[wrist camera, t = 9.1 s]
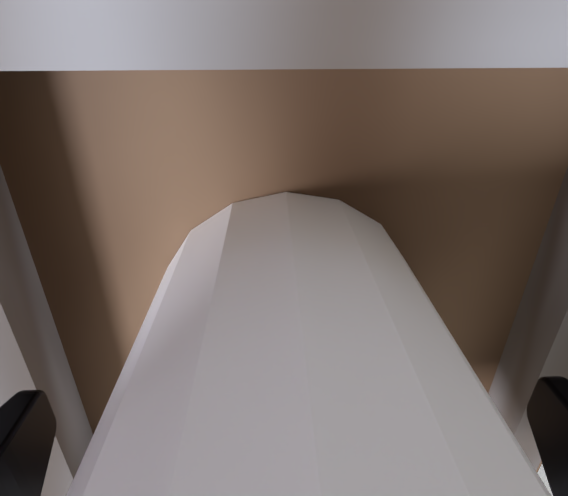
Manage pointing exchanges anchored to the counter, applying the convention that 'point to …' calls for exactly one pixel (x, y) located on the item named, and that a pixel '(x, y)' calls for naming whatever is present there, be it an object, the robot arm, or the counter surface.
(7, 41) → the brown square tray
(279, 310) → the shot glass
